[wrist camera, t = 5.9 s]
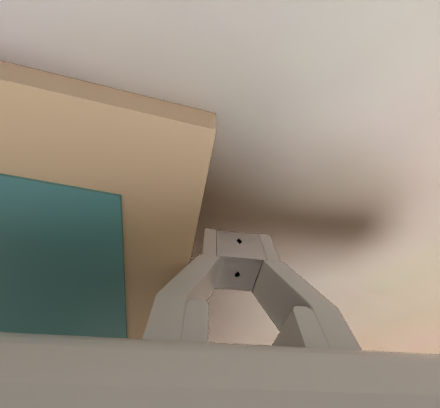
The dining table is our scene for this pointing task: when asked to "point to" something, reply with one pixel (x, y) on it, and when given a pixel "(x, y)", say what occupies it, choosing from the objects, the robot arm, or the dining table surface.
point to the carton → (93, 202)
